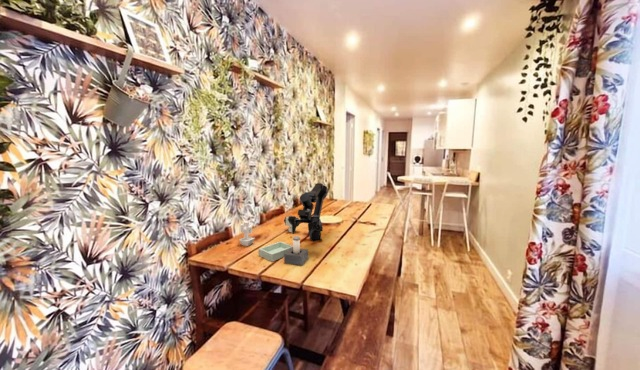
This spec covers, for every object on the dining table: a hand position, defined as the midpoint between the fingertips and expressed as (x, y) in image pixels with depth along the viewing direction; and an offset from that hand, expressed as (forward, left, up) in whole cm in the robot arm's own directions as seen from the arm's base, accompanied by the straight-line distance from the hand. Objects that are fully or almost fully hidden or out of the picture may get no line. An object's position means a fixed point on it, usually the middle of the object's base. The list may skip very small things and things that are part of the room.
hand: (300, 234), depth 145 cm
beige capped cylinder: (+5, +5, -12) cm, 14 cm away
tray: (+12, -8, -12) cm, 19 cm away
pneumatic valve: (-11, -42, -13) cm, 46 cm away
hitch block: (+5, +5, -12) cm, 14 cm away
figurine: (+24, -31, -13) cm, 41 cm away
